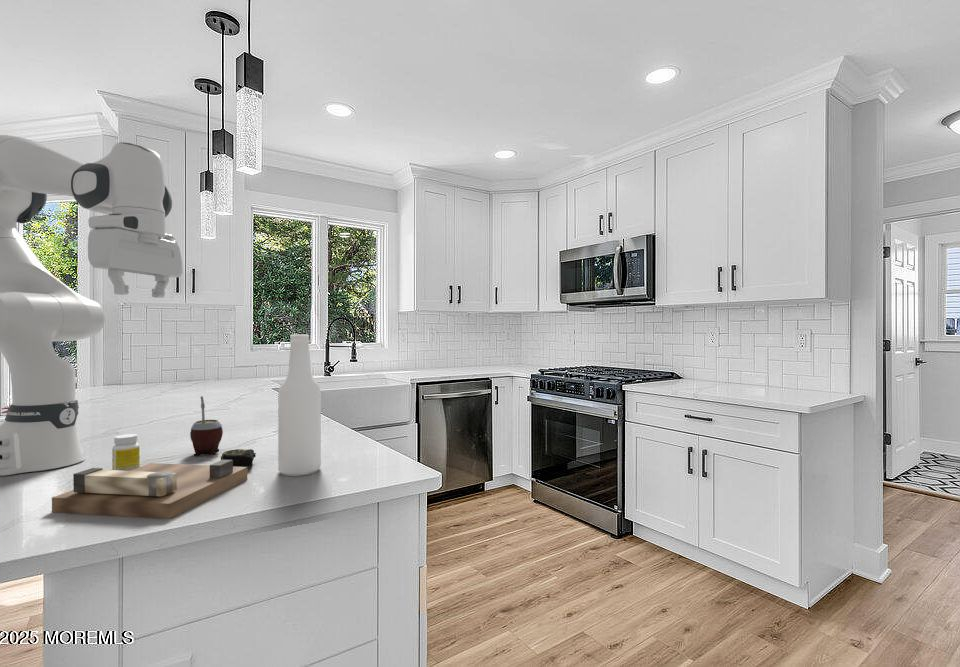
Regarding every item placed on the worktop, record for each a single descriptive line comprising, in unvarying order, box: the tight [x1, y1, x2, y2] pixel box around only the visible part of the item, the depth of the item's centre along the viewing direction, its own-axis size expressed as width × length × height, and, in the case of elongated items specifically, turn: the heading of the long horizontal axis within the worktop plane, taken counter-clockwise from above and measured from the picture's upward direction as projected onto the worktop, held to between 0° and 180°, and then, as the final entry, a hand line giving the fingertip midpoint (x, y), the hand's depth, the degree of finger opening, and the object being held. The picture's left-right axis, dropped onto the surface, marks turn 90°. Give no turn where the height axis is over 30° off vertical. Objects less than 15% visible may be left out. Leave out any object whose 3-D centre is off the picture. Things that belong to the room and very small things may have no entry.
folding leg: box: [72, 467, 177, 496], centre depth 89 cm, size 17×4×3 cm, turn 83°
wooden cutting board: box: [51, 459, 248, 520], centre depth 96 cm, size 22×22×5 cm
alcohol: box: [277, 333, 322, 477], centre depth 111 cm, size 9×9×30 cm
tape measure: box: [220, 448, 257, 468], centre depth 114 cm, size 7×7×4 cm
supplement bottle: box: [111, 433, 141, 471], centre depth 108 cm, size 5×5×8 cm
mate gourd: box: [189, 395, 224, 457], centre depth 126 cm, size 8×8×15 cm
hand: (140, 296), depth 101 cm, fingers open, 8 cm apart
